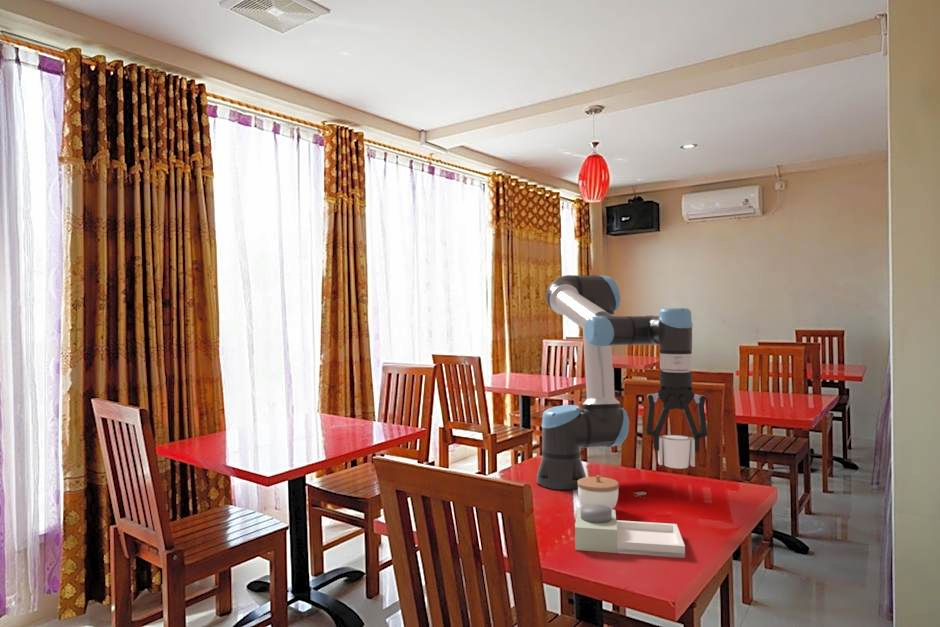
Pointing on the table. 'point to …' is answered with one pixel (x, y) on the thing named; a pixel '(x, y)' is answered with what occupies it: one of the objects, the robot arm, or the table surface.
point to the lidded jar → (598, 491)
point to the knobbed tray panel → (625, 534)
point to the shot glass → (676, 451)
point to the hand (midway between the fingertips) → (676, 464)
